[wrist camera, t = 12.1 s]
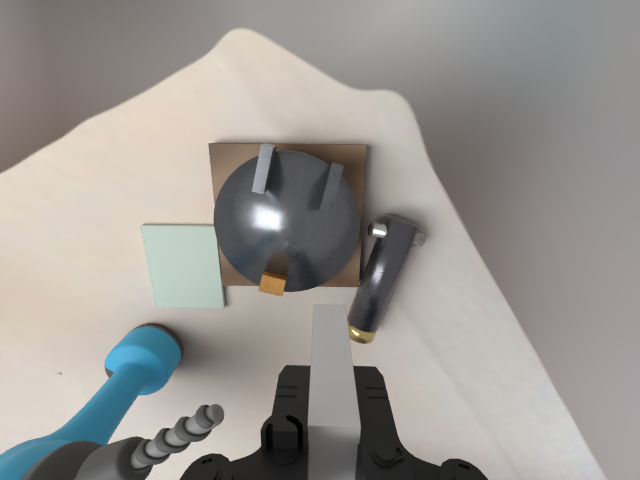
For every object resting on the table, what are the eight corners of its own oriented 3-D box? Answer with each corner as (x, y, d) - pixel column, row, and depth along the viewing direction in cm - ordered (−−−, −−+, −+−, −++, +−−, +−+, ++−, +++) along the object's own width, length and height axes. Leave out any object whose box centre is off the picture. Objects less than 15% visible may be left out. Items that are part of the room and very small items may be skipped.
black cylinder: (374, 325, 39) (417, 220, 34) (387, 345, 35) (436, 232, 31) (330, 321, 37) (369, 209, 32) (339, 341, 33) (384, 220, 29)
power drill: (248, 239, 34) (113, 432, 12) (294, 296, 37) (252, 546, 14) (78, 358, 40) (-227, 639, 18) (128, 401, 42) (-87, 698, 20)
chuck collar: (336, 295, 34) (337, 317, 31) (210, 265, 33) (195, 283, 29) (375, 171, 30) (384, 177, 26) (232, 132, 29) (218, 132, 25)
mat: (225, 305, 37) (223, 308, 36) (158, 305, 37) (155, 307, 36) (217, 225, 34) (215, 226, 33) (143, 224, 34) (140, 225, 33)
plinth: (357, 280, 36) (358, 287, 34) (227, 279, 36) (223, 285, 34) (364, 144, 31) (366, 145, 29) (213, 142, 31) (208, 143, 30)
